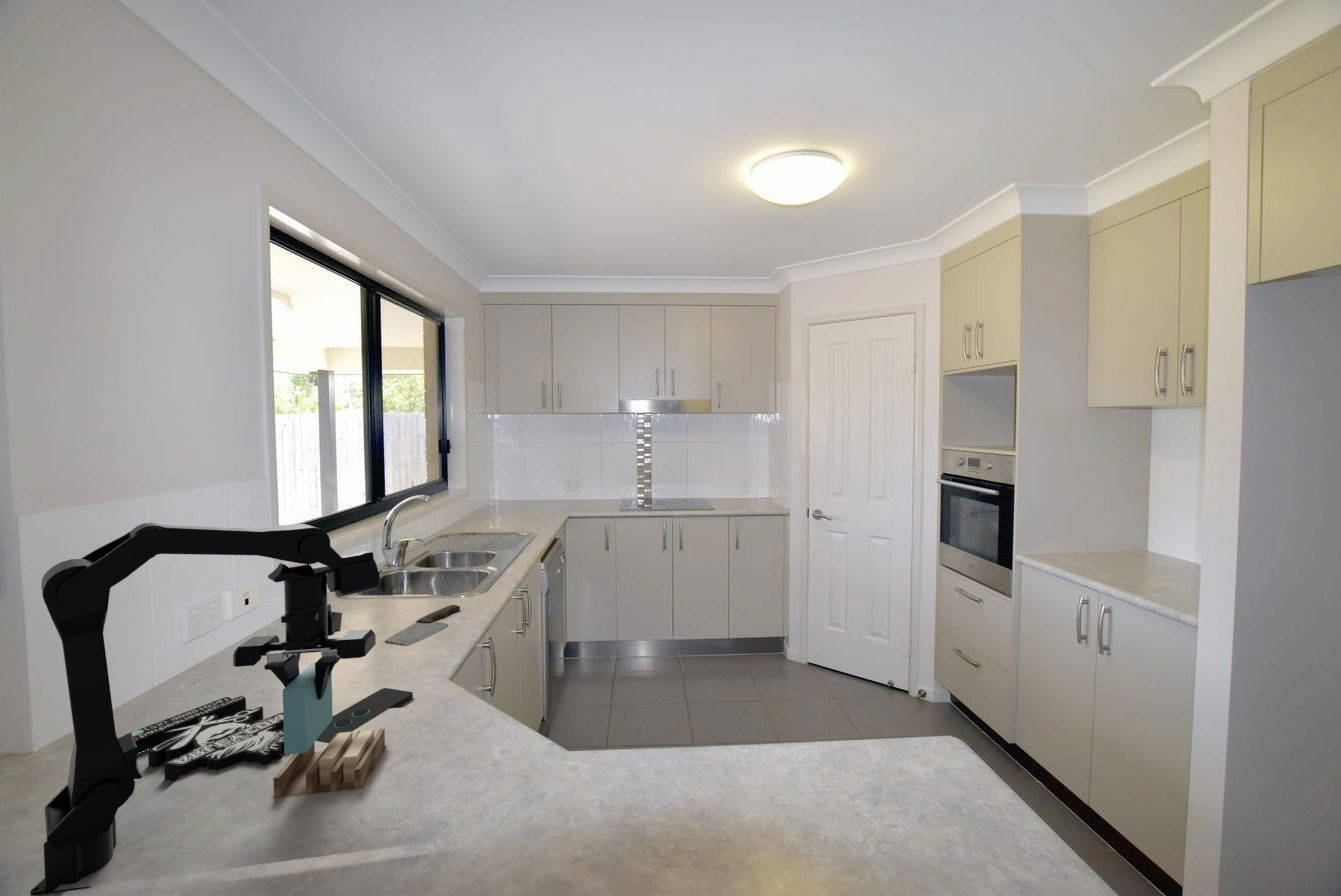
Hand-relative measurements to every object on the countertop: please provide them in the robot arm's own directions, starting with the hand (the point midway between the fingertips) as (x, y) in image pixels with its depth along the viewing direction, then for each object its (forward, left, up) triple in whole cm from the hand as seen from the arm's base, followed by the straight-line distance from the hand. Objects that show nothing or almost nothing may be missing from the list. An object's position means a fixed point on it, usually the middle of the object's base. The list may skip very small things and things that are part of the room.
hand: (308, 699), depth 91 cm
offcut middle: (0, -4, -12) cm, 13 cm away
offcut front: (0, -7, -12) cm, 14 cm away
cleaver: (+71, -2, -14) cm, 73 cm away
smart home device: (+19, -1, -14) cm, 23 cm away
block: (0, 0, -6) cm, 6 cm away
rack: (0, -3, -13) cm, 13 cm away
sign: (+13, +20, -14) cm, 27 cm away
